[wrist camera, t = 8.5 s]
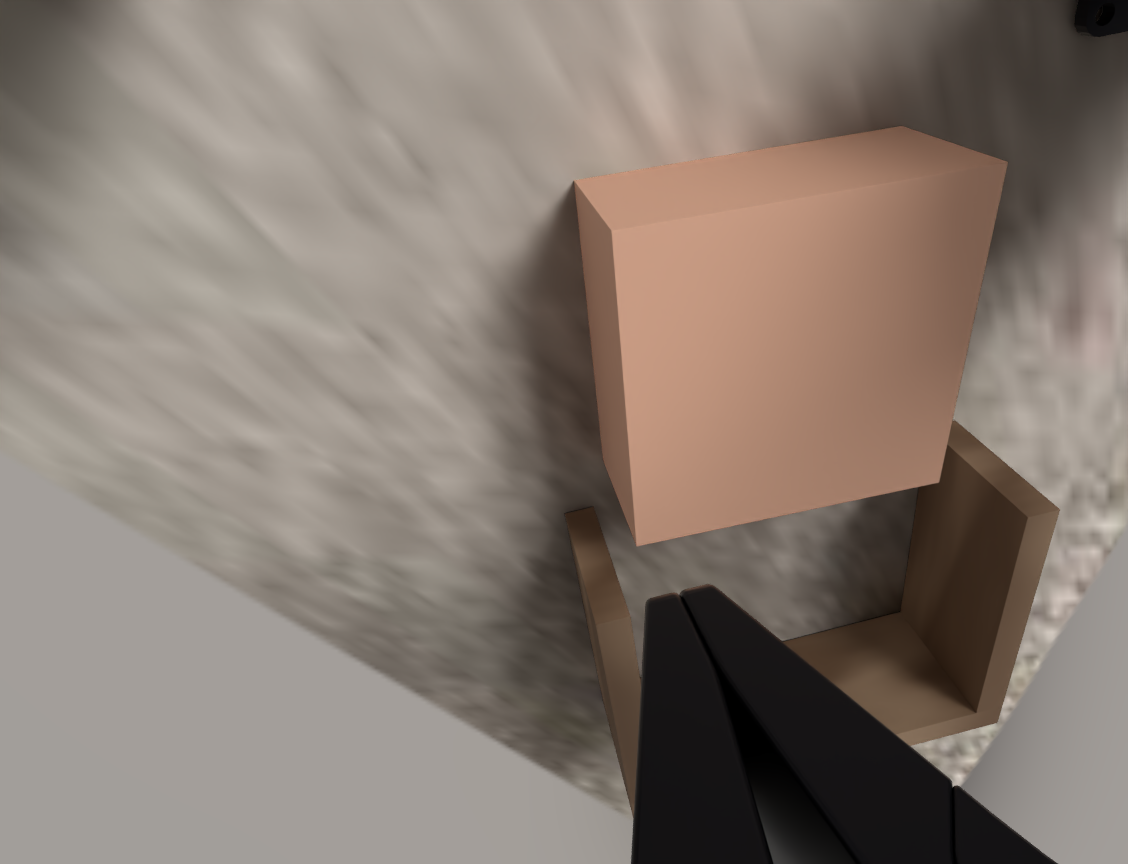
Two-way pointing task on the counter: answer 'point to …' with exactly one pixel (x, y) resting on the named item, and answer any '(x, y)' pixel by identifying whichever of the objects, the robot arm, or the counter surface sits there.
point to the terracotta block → (782, 323)
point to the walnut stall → (893, 642)
